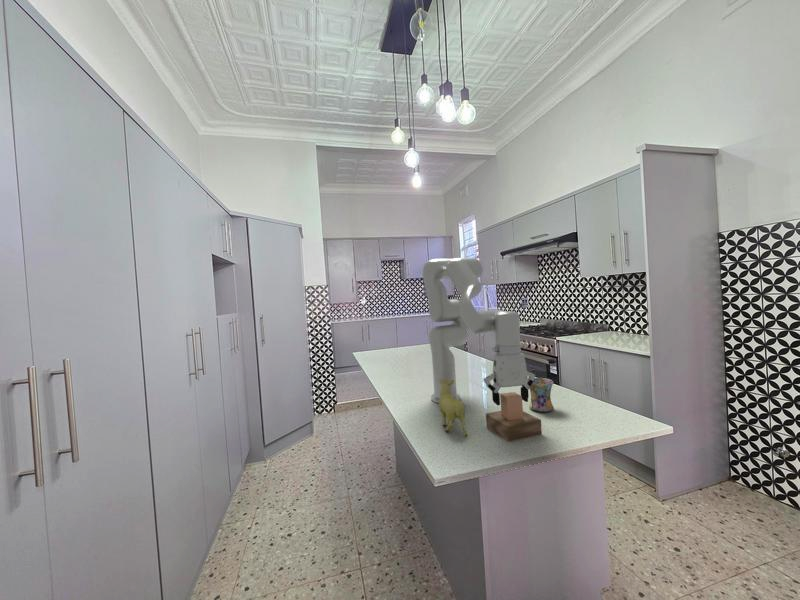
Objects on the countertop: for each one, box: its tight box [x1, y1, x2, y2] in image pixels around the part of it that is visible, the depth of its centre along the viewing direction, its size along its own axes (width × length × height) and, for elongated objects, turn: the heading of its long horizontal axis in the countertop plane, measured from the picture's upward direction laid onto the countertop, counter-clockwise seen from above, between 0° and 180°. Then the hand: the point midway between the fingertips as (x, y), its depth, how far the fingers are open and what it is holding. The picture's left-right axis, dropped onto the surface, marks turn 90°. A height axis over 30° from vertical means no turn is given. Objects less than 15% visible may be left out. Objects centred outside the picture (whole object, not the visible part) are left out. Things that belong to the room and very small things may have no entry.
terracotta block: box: [499, 391, 524, 420], centre depth 105 cm, size 5×5×7 cm
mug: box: [528, 377, 554, 413], centre depth 123 cm, size 12×9×11 cm
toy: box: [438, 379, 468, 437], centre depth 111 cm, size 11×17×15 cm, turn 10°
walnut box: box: [485, 410, 543, 443], centre depth 105 cm, size 12×12×5 cm
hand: (510, 402), depth 105 cm, fingers open, 9 cm apart
